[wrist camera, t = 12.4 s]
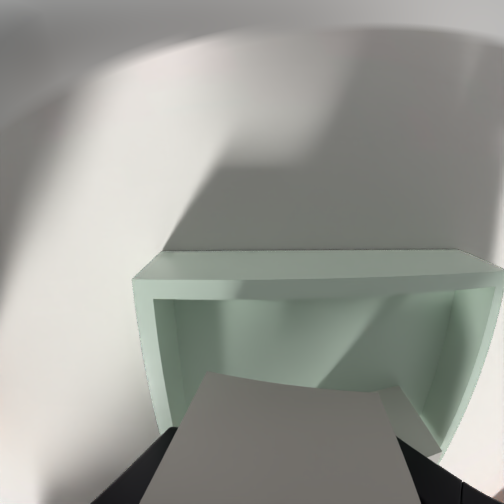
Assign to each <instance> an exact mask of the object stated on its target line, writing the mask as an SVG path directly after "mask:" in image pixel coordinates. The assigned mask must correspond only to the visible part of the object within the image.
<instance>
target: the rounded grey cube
mask: <svg viewBox="0 0 504 504" xmlns="http://www.w3.org/2000/svg"><path fill="white" fill-rule="evenodd" d="M373 393H378V394H379V396H380V399H381V401H382V404H383V406H384V408H385V411H386V413H387V416H388V418H389V421H390V423H391V425H392V428H393V430H394V433H395V435H396V436H397V437H398V438H400V439H401V440H403V441H404V442H406V443H407V444H408V445H410V446H411V447H413V448H414V449H416V450H417V451H418V452H420V453H421V454H423V455H424V456H426V457H427V458H429V459H430V460H432V461H433V462H435V463H436V464H437V463H438V461H439V459H440V456H441V454H442V450H441V449H440V447H439V445H438V444H437V442H436V441H435V439H434V438H433V436H432V434H431V433H430V431H429V430H428V428H427V427H426V425H425V424H424V422H423V421H422V419H421V418H420V416H419V415H418V413H417V412H416V410H415V409H414V407H413V406H412V404H411V403H410V401H409V400H408V398H407V397H406V395H405V394H404V392H403V391H402V389H401V388H400V386H399V385H398V386H394V387H390V388H386V389H382V390H377V391H373Z"/></svg>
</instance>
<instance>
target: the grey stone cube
mask: <svg viewBox="0 0 504 504" xmlns="http://www.w3.org/2000/svg"><path fill="white" fill-rule="evenodd" d="M139 504H421V502H420V499H419V496H418V493H417V491H416V488H415V485H414V482H413V480H412V477H411V474H410V472H409V469H408V466H407V464H406V461H405V458H404V456H403V453H402V451H401V448H400V445H399V443H398V440H397V438H396V435H395V433H394V430H393V428H392V425H391V423H390V421H389V418H388V416H387V413H386V411H385V408H384V406H383V404H382V401H381V399H380V396H379V394H378V393H373V392H356V391H343V390H331V389H321V388H311V387H303V386H294V385H287V384H279V383H272V382H265V381H259V380H253V379H247V378H241V377H235V376H230V375H224V374H219V373H214V372H209V371H207V372H206V374H205V376H204V378H203V380H202V382H201V384H200V386H199V388H198V390H197V392H196V394H195V396H194V398H193V400H192V402H191V404H190V406H189V408H188V410H187V412H186V414H185V416H184V417H183V419H182V421H181V423H180V425H179V427H178V429H177V431H176V433H175V435H174V437H173V439H172V441H171V443H170V445H169V447H168V449H167V451H166V453H165V455H164V457H163V459H162V461H161V463H160V465H159V466H158V468H157V470H156V472H155V474H154V476H153V478H152V480H151V482H150V484H149V486H148V488H147V490H146V492H145V494H144V495H143V497H142V499H141V501H140V503H139Z"/></svg>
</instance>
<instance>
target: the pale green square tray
mask: <svg viewBox="0 0 504 504" xmlns="http://www.w3.org/2000/svg"><path fill="white" fill-rule="evenodd" d="M132 285H133V293H134V301H135V309H136V316H137V323H138V330H139V336H140V342H141V348H142V354H143V359H144V365H145V370H146V375H147V380H148V385H149V390H150V395H151V400H152V404H153V408H154V413H155V417H156V421H157V425H158V429H159V433H160V436H161V435H162V434H163V433H164V432H165V431H166V430H167V429H168V428H169V427H179V425H180V423H181V421H182V419H183V417H184V416H185V414H186V412H187V410H188V408H189V406H190V404H191V402H192V400H193V398H194V396H195V394H196V392H197V390H198V388H199V386H200V384H201V382H202V380H203V378H204V376H205V374H206V372H207V371H209V372H214V373H219V374H224V375H230V376H235V377H241V378H247V379H253V380H259V381H265V382H272V383H279V384H287V385H294V386H303V387H311V388H321V389H331V390H343V391H356V392H373V391H377V390H382V389H386V388H390V387H394V386H398V385H399V386H400V388H401V389H402V391H403V392H404V394H405V395H406V397H407V398H408V400H409V401H410V403H411V404H412V406H413V407H414V409H415V410H416V412H417V413H418V415H419V416H420V418H421V419H422V421H423V422H424V424H425V425H426V427H427V428H428V430H429V431H430V433H431V434H432V436H433V438H434V439H435V441H436V442H437V444H438V445H439V447H440V449H441V450H442V454H441V456H440V459H439V461H438V463H437V464H438V465H439V463H440V461H441V459H442V458H443V456H444V454H445V452H446V450H447V448H448V446H449V444H450V442H451V440H452V438H453V436H454V434H455V432H456V430H457V428H458V426H459V424H460V422H461V420H462V417H463V415H464V413H465V411H466V408H467V406H468V404H469V401H470V399H471V397H472V394H473V392H474V389H475V387H476V384H477V381H478V379H479V376H480V373H481V370H482V367H483V365H484V362H485V359H486V356H487V353H488V349H489V346H490V343H491V340H492V336H493V333H494V329H495V326H496V322H497V318H498V314H499V310H500V306H501V302H502V297H503V292H504V269H503V268H501V267H498V266H496V265H494V264H492V263H489V262H487V261H485V260H482V259H480V258H478V257H475V256H473V255H471V254H468V253H466V252H463V251H461V250H459V249H452V250H269V251H161V252H160V253H159V254H158V255H157V256H156V257H155V258H154V259H153V260H152V261H150V262H149V263H148V264H147V265H146V266H145V267H144V268H143V269H142V270H141V271H140V272H139V273H138V274H137V275H136V276H135V277H134V278H133V279H132Z"/></svg>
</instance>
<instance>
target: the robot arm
mask: <svg viewBox="0 0 504 504" xmlns="http://www.w3.org/2000/svg"><path fill="white" fill-rule="evenodd" d="M177 429H178V427H169V428H168V429H167V430H166V431H165V432H164V433H163V434H162V435H161V436H160V437H159V438H158V439H157V440H156V441H155V442H154V443H153V444H152V445H151V446H150V447H149V448H148V449H147V450H146V451H145V452H144V453H143V454H142V455H141V456H140V457H139V458H138V459H137V460H136V461H135V462H134V463H133V464H132V465H131V466H130V467H129V468H128V469H127V470H126V471H125V472H124V473H123V474H121V475H120V476H119V477H118V478H117V479H116V480H115V481H114V482H113V483H112V484H111V485H110V486H109V487H108V488H107V489H106V490H104V491H103V492H102V493H101V494H100V495H99V496H98V497H97V498H96V499H95V500H94V501H92V502H91V503H90V504H139V503H140V501H141V499H142V497H143V495H144V494H145V492H146V490H147V488H148V486H149V484H150V482H151V480H152V478H153V476H154V474H155V472H156V470H157V468H158V466H159V465H160V463H161V461H162V459H163V457H164V455H165V453H166V451H167V449H168V447H169V445H170V443H171V441H172V439H173V437H174V435H175V433H176V431H177ZM396 438H397V440H398V443H399V445H400V448H401V451H402V453H403V456H404V458H405V461H406V464H407V466H408V469H409V472H410V474H411V477H412V480H413V482H414V485H415V488H416V491H417V493H418V496H419V499H420V502H421V504H504V503H502V502H500V501H497V500H495V499H493V498H491V497H489V496H487V495H485V494H484V493H482V492H480V491H478V490H477V489H475V488H473V487H472V486H470V485H469V484H467V483H465V482H462V480H460V479H459V478H457V477H456V476H454V475H453V474H451V473H450V472H448V471H447V470H445V469H444V468H442V467H441V466H439V465H438V464H436V463H435V462H433V461H432V460H430V459H429V458H427V457H426V456H424V455H423V454H421V453H420V452H418V451H417V450H416V449H414V448H413V447H411V446H410V445H408V444H407V443H406V442H404V441H403V440H401V439H400V438H398V437H397V436H396Z"/></svg>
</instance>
